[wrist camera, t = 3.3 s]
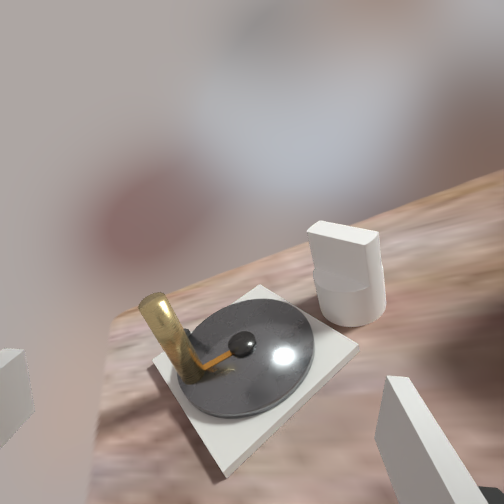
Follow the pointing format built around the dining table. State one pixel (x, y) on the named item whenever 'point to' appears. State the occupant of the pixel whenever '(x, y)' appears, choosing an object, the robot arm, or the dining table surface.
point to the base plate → (267, 423)
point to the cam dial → (235, 354)
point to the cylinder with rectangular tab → (347, 273)
